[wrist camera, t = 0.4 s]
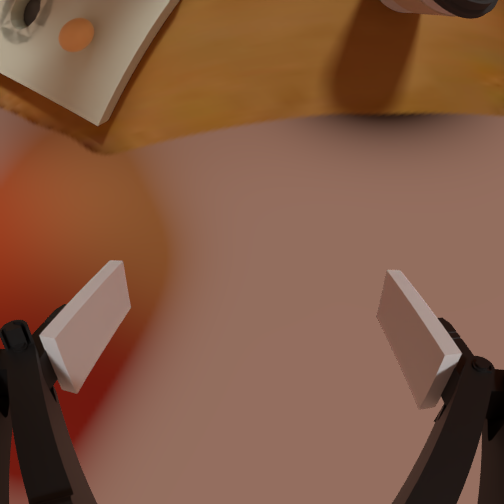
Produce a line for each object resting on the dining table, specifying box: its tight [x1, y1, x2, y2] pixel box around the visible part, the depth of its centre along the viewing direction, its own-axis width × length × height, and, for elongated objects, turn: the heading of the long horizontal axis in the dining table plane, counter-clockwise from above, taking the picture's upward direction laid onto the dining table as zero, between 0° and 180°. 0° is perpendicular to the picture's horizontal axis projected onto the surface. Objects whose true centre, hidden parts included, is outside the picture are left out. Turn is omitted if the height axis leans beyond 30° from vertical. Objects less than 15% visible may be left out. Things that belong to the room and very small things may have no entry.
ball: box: [58, 18, 94, 52], centre depth 24 cm, size 4×4×4 cm
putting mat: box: [0, 0, 180, 126], centre depth 25 cm, size 18×24×3 cm
